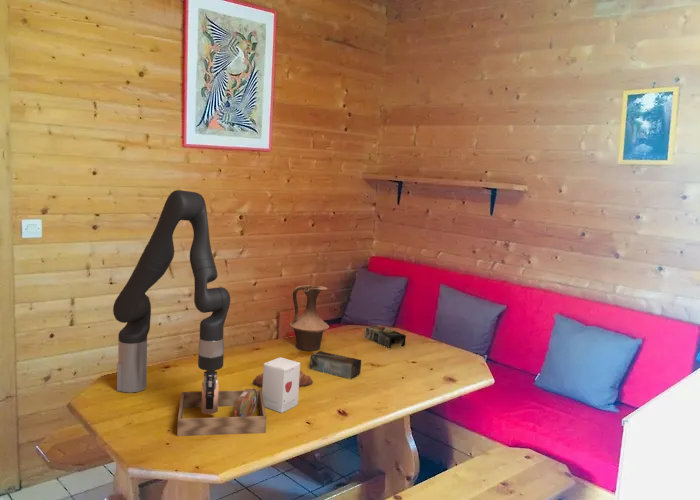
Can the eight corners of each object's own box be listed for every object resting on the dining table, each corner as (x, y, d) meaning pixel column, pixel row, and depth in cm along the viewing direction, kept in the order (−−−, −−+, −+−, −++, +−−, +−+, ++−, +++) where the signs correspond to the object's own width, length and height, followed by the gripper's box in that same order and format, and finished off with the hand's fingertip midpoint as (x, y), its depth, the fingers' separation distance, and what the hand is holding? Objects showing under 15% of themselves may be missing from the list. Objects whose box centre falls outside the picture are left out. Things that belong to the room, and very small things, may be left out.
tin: (240, 429, 183) (241, 403, 181) (230, 428, 183) (231, 401, 182) (257, 410, 197) (258, 385, 196) (248, 408, 198) (249, 384, 197)
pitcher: (293, 355, 252) (296, 289, 248) (282, 342, 268) (285, 280, 264) (333, 352, 259) (337, 289, 254) (320, 340, 274) (324, 280, 270)
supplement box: (282, 413, 195) (284, 369, 193) (260, 406, 200) (262, 363, 198) (298, 405, 203) (301, 362, 201) (278, 398, 208) (280, 356, 205)
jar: (201, 414, 185) (202, 383, 183) (201, 407, 189) (202, 377, 188) (218, 413, 186) (219, 383, 184) (217, 406, 191) (218, 377, 189)
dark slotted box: (362, 337, 284) (363, 324, 283) (378, 334, 290) (379, 322, 289) (388, 350, 268) (390, 337, 267) (405, 347, 274) (407, 334, 273)
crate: (177, 436, 176) (177, 419, 175) (181, 406, 196) (181, 391, 195) (265, 432, 182) (266, 417, 181) (260, 404, 202) (261, 390, 201)
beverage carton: (319, 364, 244) (320, 348, 243) (361, 374, 236) (362, 358, 235) (308, 369, 237) (309, 353, 236) (352, 380, 229) (353, 364, 228)
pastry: (283, 373, 232) (284, 353, 230) (314, 384, 223) (315, 363, 221) (251, 385, 218) (252, 364, 217) (283, 397, 209) (284, 375, 208)
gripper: (199, 344, 191) (197, 396, 193) (197, 360, 177) (196, 415, 180) (223, 344, 192) (221, 395, 195) (223, 360, 179) (222, 414, 181)
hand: (209, 404), depth 187 cm, fingers closed on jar, 5 cm apart
